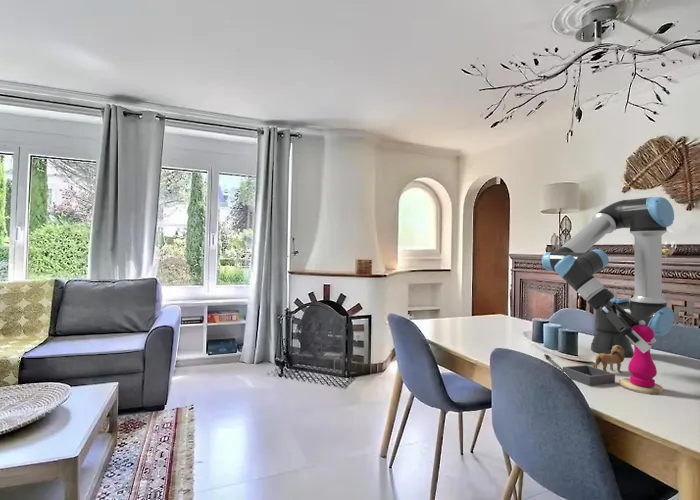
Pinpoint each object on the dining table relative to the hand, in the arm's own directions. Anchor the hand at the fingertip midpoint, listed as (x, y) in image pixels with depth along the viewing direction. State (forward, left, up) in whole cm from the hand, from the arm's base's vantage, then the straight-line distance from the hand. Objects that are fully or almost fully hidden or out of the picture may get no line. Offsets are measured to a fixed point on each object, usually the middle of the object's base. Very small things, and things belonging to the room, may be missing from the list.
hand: (650, 347), depth 122 cm
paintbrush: (+7, -30, -14) cm, 33 cm away
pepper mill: (+1, -1, -12) cm, 12 cm away
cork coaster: (+1, -2, -13) cm, 14 cm away
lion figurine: (-5, -18, -14) cm, 23 cm away
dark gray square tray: (+11, -13, -13) cm, 21 cm away
